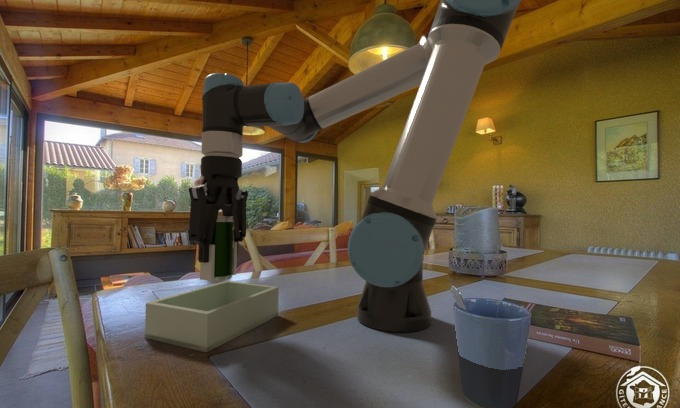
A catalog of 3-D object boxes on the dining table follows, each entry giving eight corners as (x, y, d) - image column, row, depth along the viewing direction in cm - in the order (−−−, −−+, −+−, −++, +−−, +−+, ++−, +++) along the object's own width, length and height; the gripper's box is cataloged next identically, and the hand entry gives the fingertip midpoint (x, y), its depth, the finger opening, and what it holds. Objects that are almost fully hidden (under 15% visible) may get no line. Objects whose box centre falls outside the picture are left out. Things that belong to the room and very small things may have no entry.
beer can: (210, 282, 60) (212, 216, 60) (199, 277, 64) (200, 215, 64) (238, 278, 63) (239, 216, 64) (225, 274, 67) (227, 215, 67)
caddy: (278, 315, 70) (278, 287, 70) (206, 352, 51) (207, 314, 51) (226, 307, 75) (227, 280, 75) (144, 337, 57) (145, 303, 57)
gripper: (238, 164, 74) (235, 267, 73) (167, 149, 57) (163, 284, 56) (266, 163, 71) (263, 270, 70) (199, 147, 54) (195, 289, 53)
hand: (218, 276), depth 63 cm, fingers closed on beer can, 5 cm apart
